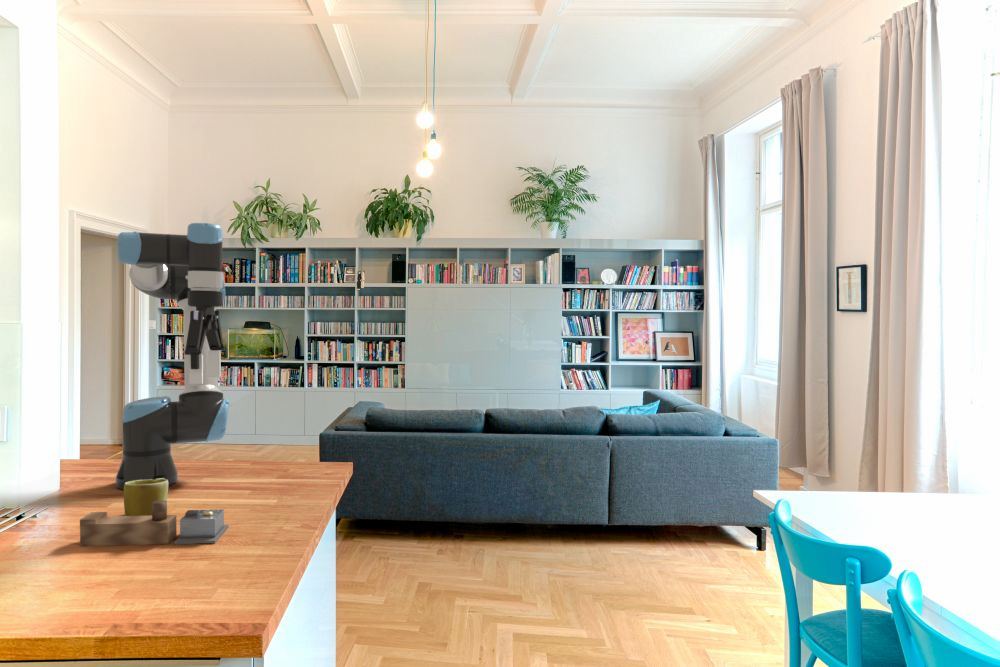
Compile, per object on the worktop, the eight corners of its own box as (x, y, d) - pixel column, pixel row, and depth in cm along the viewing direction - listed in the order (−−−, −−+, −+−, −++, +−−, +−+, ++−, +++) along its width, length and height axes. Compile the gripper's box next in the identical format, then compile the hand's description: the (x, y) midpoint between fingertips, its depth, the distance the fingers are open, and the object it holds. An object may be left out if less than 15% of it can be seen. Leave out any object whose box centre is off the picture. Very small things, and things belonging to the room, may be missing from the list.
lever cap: (180, 538, 140) (179, 516, 140) (190, 528, 147) (190, 507, 146) (214, 537, 141) (214, 515, 141) (223, 527, 147) (223, 506, 147)
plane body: (80, 546, 137) (79, 507, 136) (92, 537, 142) (91, 500, 141) (167, 543, 139) (167, 505, 138) (176, 535, 144) (176, 498, 143)
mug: (151, 516, 150) (146, 472, 152) (114, 527, 152) (109, 483, 154) (190, 511, 162) (184, 470, 164) (154, 521, 164) (149, 480, 166)
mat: (190, 528, 148) (190, 525, 148) (228, 527, 149) (228, 524, 149) (174, 544, 138) (174, 541, 138) (214, 543, 139) (214, 540, 139)
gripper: (205, 290, 169) (205, 374, 170) (168, 288, 144) (169, 386, 145) (236, 291, 170) (236, 374, 171) (205, 289, 145) (205, 386, 146)
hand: (205, 380), depth 158 cm, fingers open, 13 cm apart
